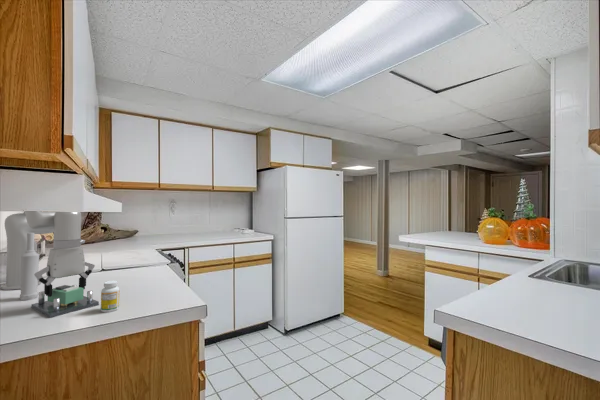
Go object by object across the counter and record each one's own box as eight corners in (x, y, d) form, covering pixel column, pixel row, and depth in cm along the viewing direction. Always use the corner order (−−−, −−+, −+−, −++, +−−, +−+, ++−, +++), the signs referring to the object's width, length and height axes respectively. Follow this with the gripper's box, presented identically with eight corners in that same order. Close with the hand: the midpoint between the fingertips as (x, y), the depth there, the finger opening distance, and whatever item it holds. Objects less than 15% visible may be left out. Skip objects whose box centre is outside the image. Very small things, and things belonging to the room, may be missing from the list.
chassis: (31, 307, 100) (31, 292, 100) (78, 296, 112) (78, 283, 112) (50, 317, 92) (50, 301, 92) (98, 304, 104) (99, 290, 104)
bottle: (40, 297, 110) (42, 232, 111) (22, 301, 106) (24, 234, 106) (35, 295, 113) (36, 232, 113) (17, 299, 109) (19, 233, 109)
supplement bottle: (112, 312, 97) (113, 284, 97) (96, 312, 97) (97, 284, 97) (122, 306, 103) (123, 280, 103) (107, 306, 103) (108, 279, 103)
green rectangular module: (47, 301, 101) (47, 288, 101) (65, 296, 107) (66, 283, 107) (65, 304, 98) (65, 290, 98) (83, 298, 104) (83, 286, 104)
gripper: (89, 240, 112) (88, 284, 112) (31, 246, 97) (30, 296, 97) (99, 242, 108) (98, 288, 108) (40, 248, 93) (38, 301, 93)
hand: (66, 292), depth 102 cm, fingers open, 9 cm apart
